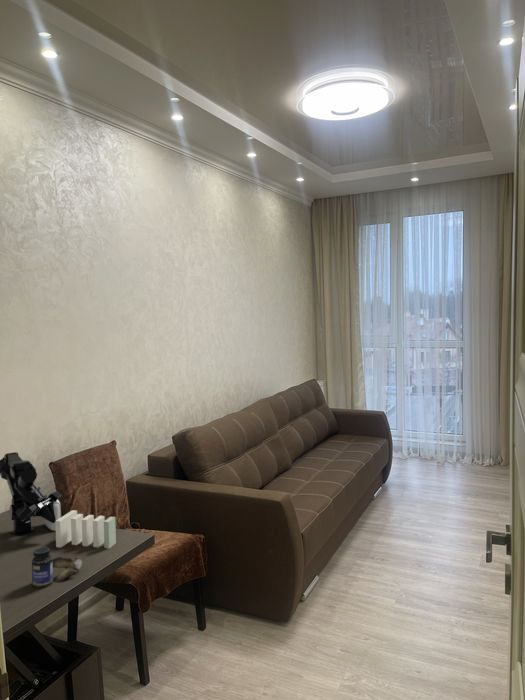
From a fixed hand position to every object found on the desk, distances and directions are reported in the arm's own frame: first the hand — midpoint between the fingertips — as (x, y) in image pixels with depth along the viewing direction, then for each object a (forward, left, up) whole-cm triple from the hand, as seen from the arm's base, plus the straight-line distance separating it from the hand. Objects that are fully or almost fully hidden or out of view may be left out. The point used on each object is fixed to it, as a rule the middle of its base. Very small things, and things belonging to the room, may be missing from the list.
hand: (54, 522), depth 202 cm
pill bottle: (+23, -25, -7) cm, 35 cm away
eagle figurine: (+26, -18, -7) cm, 32 cm away
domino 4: (+18, +5, -7) cm, 20 cm away
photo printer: (-11, +9, -7) cm, 16 cm away
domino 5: (+22, +6, -7) cm, 24 cm away
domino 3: (+13, +4, -7) cm, 16 cm away
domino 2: (+9, +3, -7) cm, 12 cm away
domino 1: (+5, +2, -7) cm, 9 cm away
